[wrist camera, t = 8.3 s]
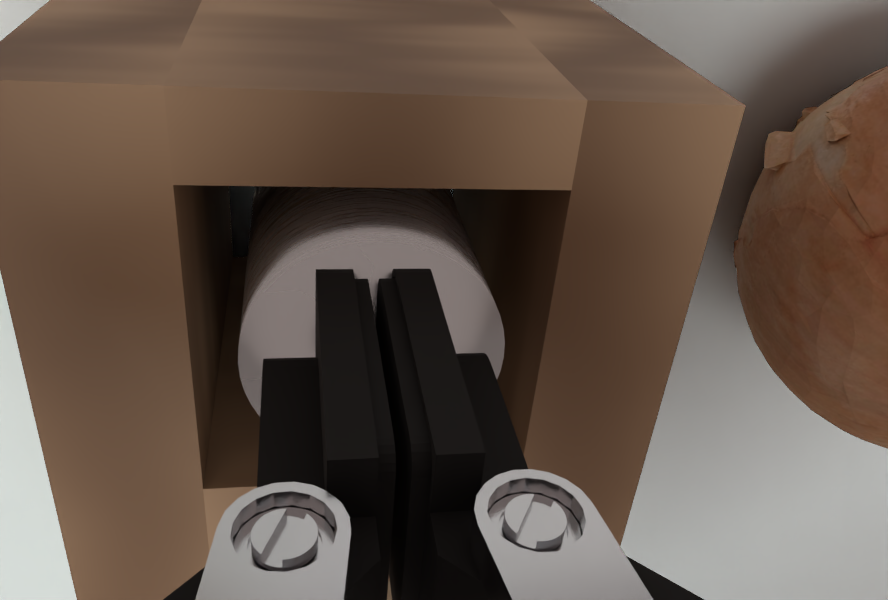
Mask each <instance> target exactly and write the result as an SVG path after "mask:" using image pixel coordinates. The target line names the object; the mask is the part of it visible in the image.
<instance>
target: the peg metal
mask: <svg viewBox="0 0 888 600" xmlns="http://www.w3.org/2000/svg"><path fill="white" fill-rule="evenodd" d="M316 269H353V271H354V277H355V279H368V281H369V287H370V293H371V299H372V305H373V311H374V318H375V324H376V313H377V292H378V281H379V279H382V278H391V277H392V271H393V269H431V271H432V274H433V278H434V281H435V284H436V288H437V291H438V294H439V298H440V301H441V305H442V308H443V311H444V315H445V318H446V321H447V325H448V328H449V331H450V335H451V338H452V341H453V345H454V348H455V351H456V354H459V353H485V354H486V355H487V356H488V358H489V360H490V362H491V365H492V368H493V371H494V373H495V376H496V379H498V376H499V374H500V371H501V367H502V363H503V358H504V347H505V339H504V329H503V325H502V321H501V317H500V314H499V311H498V309H497V306H496V304H495V301H494V299H493V296H492V294H491V291H490V289H489V286H488V284H487V281H486V279H485V276H484V274H483V271H482V269H481V266H480V264H479V261H478V259H477V257H476V254H475V252H474V249H473V247H472V244H471V242H470V239H469V237H468V234H467V232H466V229H465V227H464V224H463V222H462V219H461V217H460V214H459V212H458V209H457V207H456V204H455V202H454V199H453V197H452V194H451V192H450V189H433V188H358V187H283V186H254V195H253V205H252V215H251V225H250V235H249V245H248V256H247V266H246V276H245V286H244V296H243V306H242V317H241V327H240V337H239V347H238V367H239V374H240V379H241V382H242V386H243V389H244V392H245V394H246V396H247V398H248V400H249V402H250V404H251V405H252V407H253V408H254V409H255V411H256V412H257V414H258V415H259V416H260V409H261V388H262V367H263V359H266V358H305V357H315V292H316Z"/></svg>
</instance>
